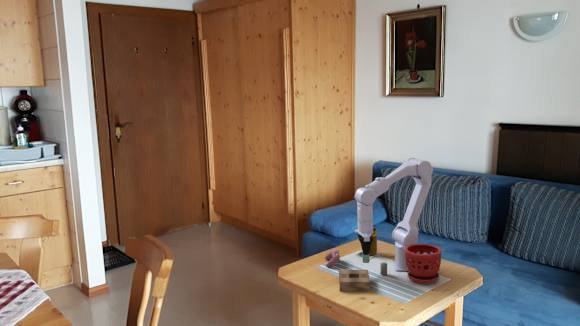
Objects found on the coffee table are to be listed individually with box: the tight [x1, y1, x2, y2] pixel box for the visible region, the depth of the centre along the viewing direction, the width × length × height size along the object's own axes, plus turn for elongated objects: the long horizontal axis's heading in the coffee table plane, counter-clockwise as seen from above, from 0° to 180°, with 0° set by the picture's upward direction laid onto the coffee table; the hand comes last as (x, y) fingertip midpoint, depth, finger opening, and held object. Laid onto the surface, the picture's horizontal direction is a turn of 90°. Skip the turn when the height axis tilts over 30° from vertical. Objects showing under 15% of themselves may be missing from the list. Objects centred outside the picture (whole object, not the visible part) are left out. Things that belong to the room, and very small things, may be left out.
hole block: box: [338, 269, 371, 292], centre depth 179 cm, size 11×11×4 cm
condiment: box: [355, 225, 381, 260], centre depth 209 cm, size 7×8×12 cm
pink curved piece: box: [324, 248, 341, 269], centre depth 200 cm, size 10×5×7 cm, turn 179°
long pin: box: [361, 251, 370, 264], centre depth 187 cm, size 3×3×8 cm
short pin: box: [379, 262, 388, 277], centre depth 187 cm, size 3×3×4 cm
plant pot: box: [405, 243, 442, 284], centre depth 182 cm, size 13×13×12 cm
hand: (365, 253), depth 187 cm, fingers closed on long pin, 2 cm apart
